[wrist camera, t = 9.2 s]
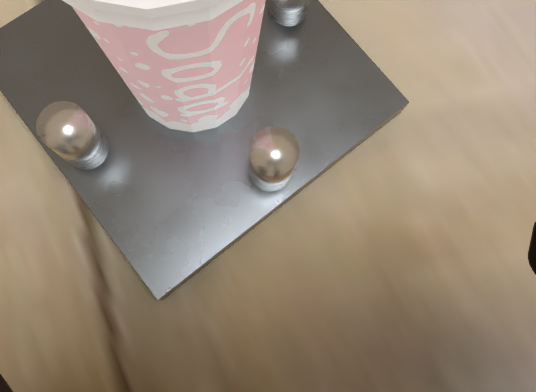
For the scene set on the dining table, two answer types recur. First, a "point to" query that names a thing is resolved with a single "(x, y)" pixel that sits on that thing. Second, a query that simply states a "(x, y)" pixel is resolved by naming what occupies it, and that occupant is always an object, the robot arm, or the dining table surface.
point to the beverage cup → (179, 54)
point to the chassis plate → (193, 143)
